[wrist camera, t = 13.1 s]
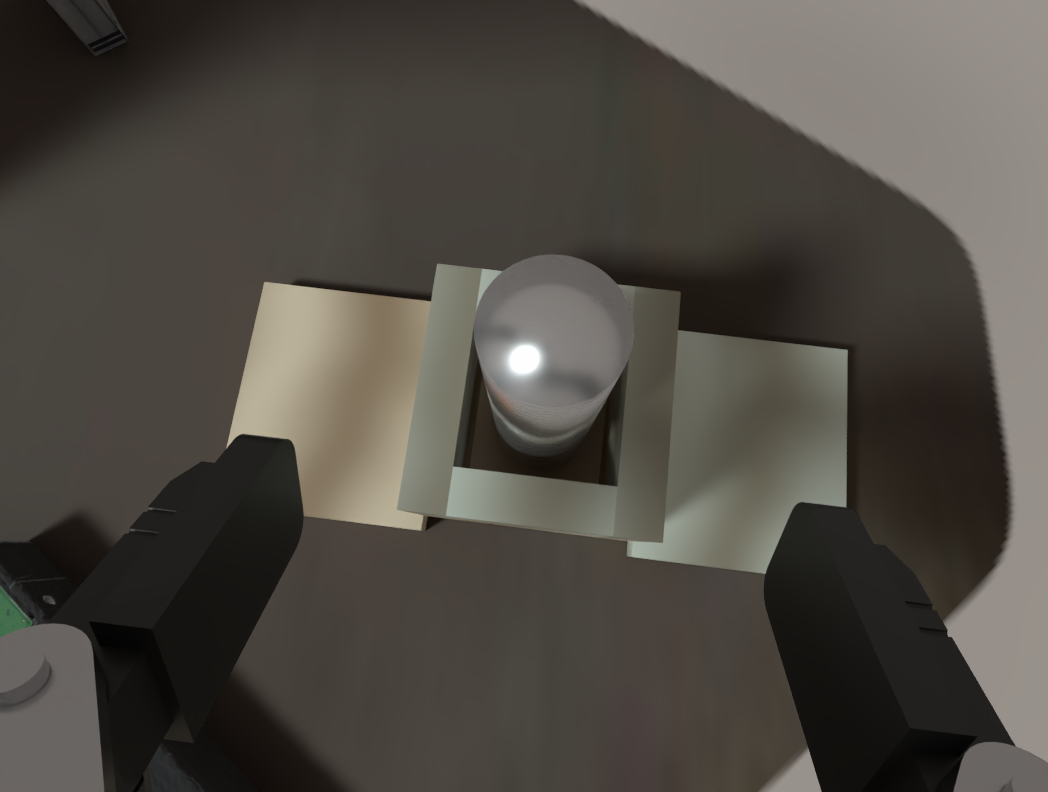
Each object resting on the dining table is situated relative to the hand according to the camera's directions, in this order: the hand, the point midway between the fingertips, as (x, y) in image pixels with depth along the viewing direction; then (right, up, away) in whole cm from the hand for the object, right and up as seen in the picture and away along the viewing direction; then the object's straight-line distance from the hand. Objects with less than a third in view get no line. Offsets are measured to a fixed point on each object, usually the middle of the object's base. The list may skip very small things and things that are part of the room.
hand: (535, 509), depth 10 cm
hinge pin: (0, +1, +11) cm, 11 cm away
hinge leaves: (0, +1, +12) cm, 12 cm away
